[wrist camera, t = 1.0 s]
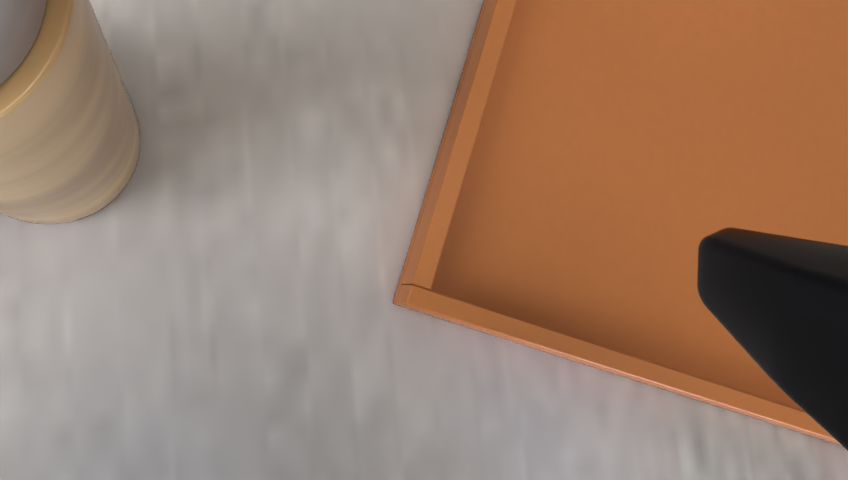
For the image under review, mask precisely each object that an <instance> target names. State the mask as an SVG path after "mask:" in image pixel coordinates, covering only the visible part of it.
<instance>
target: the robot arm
mask: <svg viewBox="0 0 848 480" xmlns="http://www.w3.org/2000/svg"><path fill="white" fill-rule="evenodd" d="M697 290H698V294H699V296H700V299H701V300H702V302H703V304H704V305H705V306H706V307H707V309H708V310H709V311H710V312H711V313H712V314H713V315H714V316H715V317H716V319H717V320H718V321H719V322H720V323H721V324H722V325H723V326H724V327H725V329H726V330H727V331H728V332H729V333H730V334H731V335H732V336H733V337H734V339H735V340H736V341H737V342H738V343H739V344H740V345H741V346H742V347H743V349H744V350H745V351H746V352H747V353H748V354H749V355H750V356H751V358H752V359H753V360H754V361H755V362H756V363H757V364H758V365H759V366H760V368H761V369H762V370H763V371H764V372H765V373H766V374H767V375H768V376H769V377H770V378H771V379H772V380H773V381H774V383H775V384H776V385H777V386H778V387H779V388H780V389H781V390H782V391H783V392H785V393H786V394H787V395H788V396H789V397H790V398H791V399H792V400H793V401H794V402H795V403H796V404H797V405H798V406H799V407H801V408H802V409H803V410H804V411H805V412H806V413H807V414H808V415H809V416H810V417H812V418H813V419H814V420H815V421H816V422H817V423H818V424H819V425H820V426H821V427H822V428H824V429H825V430H826V431H827V432H828V433H829V434H830V435H831V436H832V437H833V438H835V439H836V440H837V441H838V442H839V443H840V444H841V445H842V446H843V447H844V448H845V449H847V450H848V246H845V245H839V244H833V243H826V242H820V241H814V240H808V239H801V238H795V237H789V236H783V235H777V234H770V233H764V232H758V231H752V230H746V229H739V228H732V227H728V228H724V229H721V230H719V231H717V232H715V233H712V234H710V235H708V236H706V237H704V238H703V239H702V240H701V242H700V244H699V248H698V272H697Z"/></svg>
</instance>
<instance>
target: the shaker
mask: <svg viewBox="0 0 848 480" xmlns="http://www.w3.org/2000/svg"><path fill="white" fill-rule="evenodd" d="M139 150H140V131H139V125H138V121H137V118H136V114H135V112H134V109H133V107H132V104H131V102H130V99H129V97H128V94H127V92H126V89H125V87H124V84H123V82H122V80H121V77H120V75H119V72H118V70H117V67H116V65H115V62H114V60H113V57H112V55H111V52H110V50H109V48H108V45H107V43H106V40H105V38H104V35H103V33H102V30H101V28H100V25H99V23H98V20H97V18H96V16H95V13H94V11H93V8H92V6H91V3H90V1H89V0H0V213H1V214H4V215H6V216H9V217H12V218H15V219H17V220H21V221H26V222H30V223H38V224H58V223H66V222H71V221H75V220H78V219H81V218H84V217H86V216H89V215H91V214H93V213H95V212H97V211H99V210H101V209H102V208H103V207H105V206H106V205H108V204H109V203H110V202H111V201H112V200H114V199H115V198H116V197H117V196H118V195H119V194H120V192H121V191H122V190H123V189H124V188H125V186H126V185H127V183H128V181H129V180H130V178H131V177H132V174H133V172H134V170H135V167H136V164H137V161H138V157H139Z"/></svg>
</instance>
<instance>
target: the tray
mask: <svg viewBox="0 0 848 480" xmlns="http://www.w3.org/2000/svg"><path fill="white" fill-rule="evenodd" d="M728 227H732V228H739V229H746V230H752V231H758V232H764V233H770V234H777V235H783V236H789V237H795V238H801V239H808V240H814V241H820V242H826V243H833V244H839V245H845V246H848V0H484V3H483V6H482V10H481V13H480V16H479V19H478V23H477V26H476V29H475V33H474V36H473V39H472V43H471V46H470V49H469V52H468V56H467V59H466V62H465V66H464V69H463V72H462V76H461V79H460V82H459V85H458V89H457V92H456V95H455V99H454V102H453V105H452V108H451V112H450V115H449V118H448V122H447V125H446V128H445V132H444V135H443V138H442V141H441V145H440V148H439V151H438V155H437V158H436V161H435V165H434V168H433V171H432V174H431V178H430V181H429V184H428V188H427V191H426V194H425V198H424V201H423V204H422V207H421V211H420V214H419V217H418V221H417V224H416V227H415V230H414V234H413V237H412V240H411V244H410V247H409V250H408V254H407V257H406V260H405V263H404V267H403V270H402V273H401V277H400V280H399V283H398V287H397V290H396V293H395V296H394V300H393V304H395V305H399V306H402V307H405V308H408V309H411V310H414V311H418V312H421V313H424V314H427V315H430V316H433V317H437V318H440V319H443V320H446V321H449V322H452V323H456V324H459V325H462V326H465V327H468V328H471V329H475V330H478V331H481V332H484V333H487V334H490V335H494V336H497V337H500V338H503V339H506V340H509V341H513V342H516V343H519V344H522V345H525V346H528V347H532V348H535V349H538V350H541V351H544V352H547V353H551V354H554V355H557V356H560V357H563V358H567V359H570V360H573V361H576V362H579V363H582V364H586V365H589V366H592V367H595V368H598V369H601V370H605V371H608V372H611V373H614V374H617V375H620V376H624V377H627V378H630V379H633V380H636V381H639V382H643V383H646V384H649V385H652V386H655V387H658V388H662V389H665V390H668V391H671V392H674V393H677V394H681V395H684V396H687V397H690V398H693V399H696V400H700V401H703V402H706V403H709V404H712V405H715V406H719V407H722V408H725V409H728V410H731V411H734V412H738V413H741V414H744V415H747V416H750V417H753V418H757V419H760V420H763V421H766V422H769V423H772V424H776V425H779V426H782V427H785V428H788V429H791V430H795V431H798V432H801V433H804V434H807V435H810V436H814V437H817V438H820V439H823V440H826V441H829V442H833V443H836V444H839V445H841V444H840V443H839V442H838V441H837V440H836V439H835V438H833V437H832V436H831V435H830V434H829V433H828V432H827V431H826V430H825V429H824V428H822V427H821V426H820V425H819V424H818V423H817V422H816V421H815V420H814V419H813V418H812V417H810V416H809V415H808V414H807V413H806V412H805V411H804V410H803V409H802V408H801V407H799V406H798V405H797V404H796V403H795V402H794V401H793V400H792V399H791V398H790V397H789V396H788V395H787V394H786V393H785V392H783V391H782V390H781V389H780V388H779V387H778V386H777V385H776V384H775V383H774V381H773V380H772V379H771V378H770V377H769V376H768V375H767V374H766V373H765V372H764V371H763V370H762V369H761V368H760V366H759V365H758V364H757V363H756V362H755V361H754V360H753V359H752V358H751V356H750V355H749V354H748V353H747V352H746V351H745V350H744V349H743V347H742V346H741V345H740V344H739V343H738V342H737V341H736V340H735V339H734V337H733V336H732V335H731V334H730V333H729V332H728V331H727V330H726V329H725V327H724V326H723V325H722V324H721V323H720V322H719V321H718V320H717V319H716V317H715V316H714V315H713V314H712V313H711V312H710V311H709V310H708V309H707V307H706V306H705V305H704V304H703V302H702V300H701V299H700V296H699V294H698V290H697V272H698V248H699V244H700V242H701V240H702V239H703V238H704V237H706V236H708V235H710V234H712V233H715V232H717V231H719V230H721V229H724V228H728Z"/></svg>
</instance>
